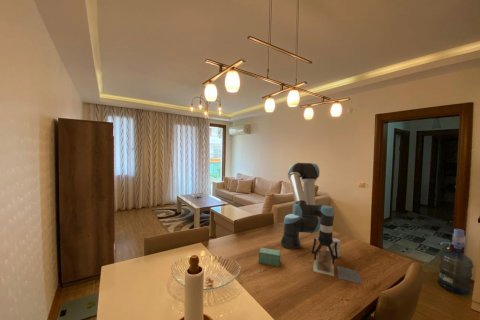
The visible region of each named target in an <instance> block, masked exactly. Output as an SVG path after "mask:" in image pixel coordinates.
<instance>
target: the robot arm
mask: <svg viewBox="0 0 480 320" xmlns="http://www.w3.org/2000/svg"><path fill="white" fill-rule="evenodd" d="M287 177H288V178H287V179H288V180H289V181H290V186H291V190H292V191H291V192H292V197H293V201H294V203H293V205H292V213H289V214H287V215H285V216H284V219H283V234H282V236H281V239H280V245H281V246H282V247H283V248H285V249H288V250H298V249H299V250H300V248H301V246H302V245H301V244H302V243H301V240H300V233H305V234H317V233H318V237H315V236H314V237H313V245H312V248H311V254H313V259H314V260H313V261H316V266H317V262H318V253H319V250H320V249H321V248H322V246H323V247H326V246H327V247H328V248H329V250H330V253H331V256H332V257H331V260H330V269H332V265H334V264H335V260H336V259H337V260H338V258H339V257H338V254H337V241H333V240H332V238H333V231H334V229H333V228H334V216H335V209H334V207H333V206H330V205H327V204H325V205H323V204H321V203H316V192H315V191H316V181H317V180H318V178H319V177H320V168H319V165H318V164H316V163H314V162H295V163H293V164H292V165H291V166H290V167H288V171H287ZM301 181H302V182H303V185H302V182H301ZM317 242H319V244H318V245H317V247H316V244H317ZM332 243H333V245H334V247H335V256H334V254H333V251H332V249H331V246H330V245H331V244H332Z"/></svg>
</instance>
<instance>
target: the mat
mask: <svg viewBox="0 0 480 320" xmlns="http://www.w3.org/2000/svg"><path fill="white" fill-rule="evenodd" d="M336 270H337V279H338V280H343V281H346V282H351V283H356V284H358V283H359V285H362V280H361V277H360V273H358V272H359V271H358V270H355V269H351V268H346V267H342V266H336ZM357 271H358V272H357Z"/></svg>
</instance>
